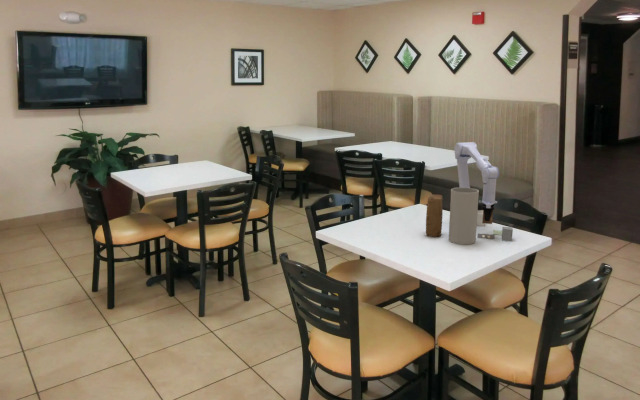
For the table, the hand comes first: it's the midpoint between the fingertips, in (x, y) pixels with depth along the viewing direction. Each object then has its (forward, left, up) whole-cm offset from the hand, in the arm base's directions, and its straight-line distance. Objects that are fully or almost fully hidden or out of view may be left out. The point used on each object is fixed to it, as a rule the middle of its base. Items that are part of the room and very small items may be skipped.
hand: (487, 219), depth 261 cm
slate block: (+10, -3, -9) cm, 13 cm away
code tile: (0, 0, -9) cm, 9 cm away
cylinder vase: (-11, -11, -9) cm, 18 cm away
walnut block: (0, 0, -2) cm, 2 cm away
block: (-25, -3, -9) cm, 27 cm away
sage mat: (+7, +8, -9) cm, 14 cm away
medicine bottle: (-5, +22, -9) cm, 24 cm away
